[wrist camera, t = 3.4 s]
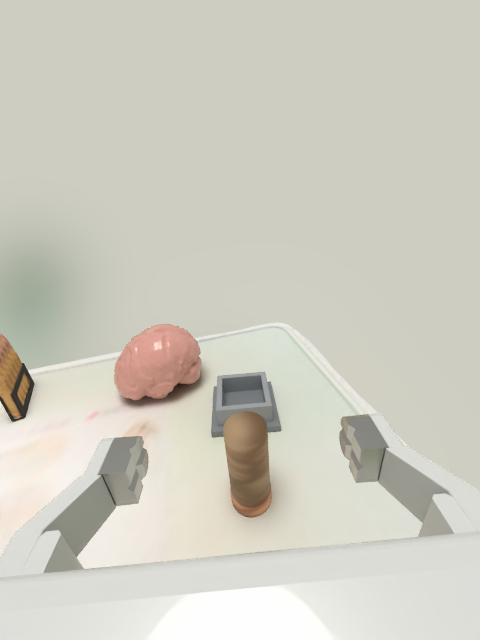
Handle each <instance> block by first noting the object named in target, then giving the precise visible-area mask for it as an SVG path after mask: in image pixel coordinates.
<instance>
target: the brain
mask: <svg viewBox="0 0 480 640" xmlns="http://www.w3.org/2000/svg"><path fill="white" fill-rule="evenodd" d="M200 353H201V352H200V348H199V345H198V343H197V341H196V340H195V339H194V338H193V337H192V336H191V334H190V333H189V332H188V331H187V330H185V329H183V328H179V327H177V326H173V325H170V324H160V325H155V326H152V327H150V328H147V329H146V330H144V331H143V332H141V333H140V334H139V335H136V336H135V337H133V338H132V339H131V342H129V343H128V344H127V345H126V347H125V349H124V350H123V352H122V353H121V355H120V357H119V358H118V360H117V362H116V364H115V374H114V381H115V385H116V387H117V390H118V391H119V392H120V393H121V394H122V395H123V397H125V398H128V399H132V400H140V399H141V398H142V397H144V396H148V397H152V398H153V399H154V398H158V399H162V398H164V397H166V396H167V395H168V393H169V392H171V391H173V388H174V386H176V385H177V383H179V384H192V383H195V382H196V381H197V380H198V379H199V378H200V370H201V366H202V362H201V358H200V357H199V355H200Z"/></svg>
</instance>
